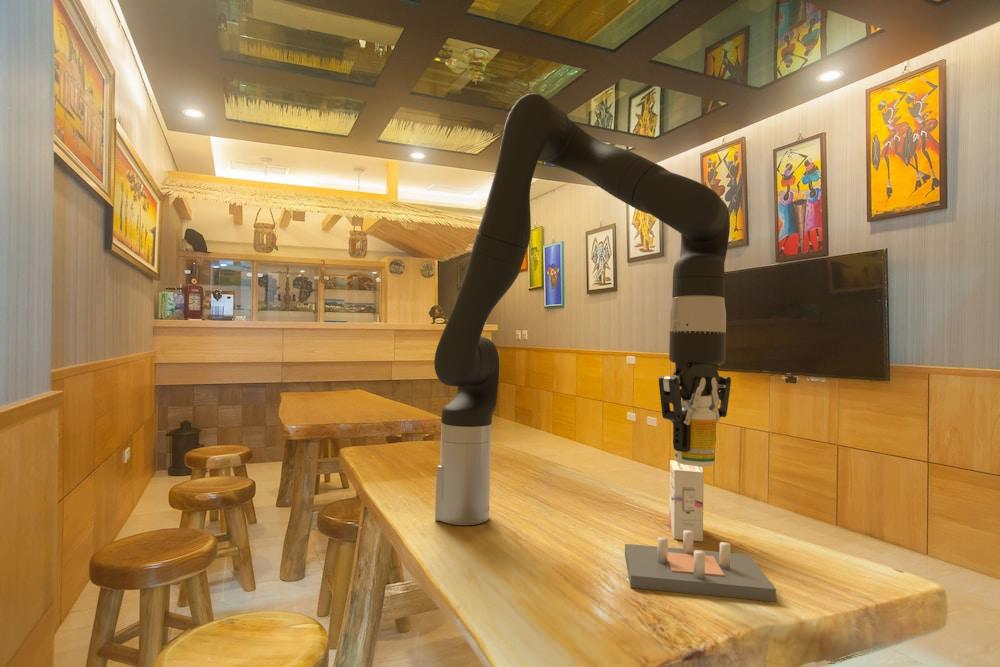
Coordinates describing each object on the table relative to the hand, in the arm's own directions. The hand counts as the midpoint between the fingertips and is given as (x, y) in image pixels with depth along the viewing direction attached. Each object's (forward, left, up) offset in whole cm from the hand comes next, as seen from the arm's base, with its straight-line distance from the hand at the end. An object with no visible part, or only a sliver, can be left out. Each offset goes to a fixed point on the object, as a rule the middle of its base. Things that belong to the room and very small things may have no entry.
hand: (694, 448), depth 78 cm
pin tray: (0, 0, -18) cm, 18 cm away
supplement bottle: (0, 0, -2) cm, 2 cm away
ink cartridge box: (+2, +19, -18) cm, 26 cm away
